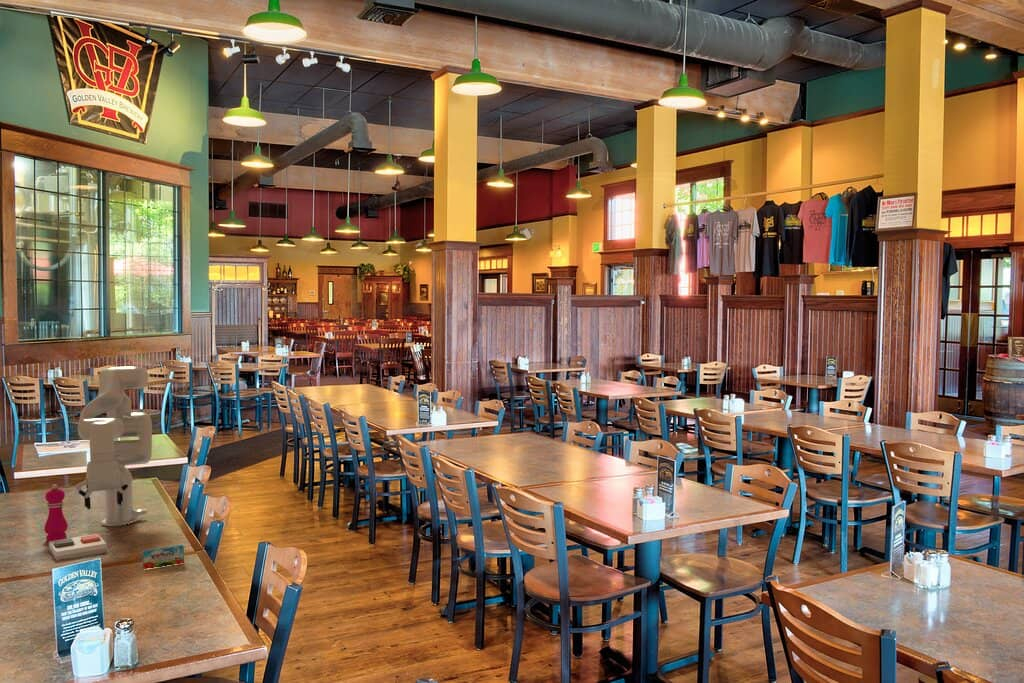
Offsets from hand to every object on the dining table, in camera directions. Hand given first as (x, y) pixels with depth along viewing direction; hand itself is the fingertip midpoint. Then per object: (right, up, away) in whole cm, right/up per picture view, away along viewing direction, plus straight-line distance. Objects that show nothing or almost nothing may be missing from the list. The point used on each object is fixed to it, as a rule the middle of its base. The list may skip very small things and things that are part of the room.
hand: (104, 506), depth 278 cm
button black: (-10, -13, -7) cm, 18 cm away
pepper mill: (-22, -14, +9) cm, 27 cm away
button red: (-3, -13, -2) cm, 13 cm away
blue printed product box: (+30, -15, -22) cm, 40 cm away
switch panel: (-7, -14, -5) cm, 16 cm away
